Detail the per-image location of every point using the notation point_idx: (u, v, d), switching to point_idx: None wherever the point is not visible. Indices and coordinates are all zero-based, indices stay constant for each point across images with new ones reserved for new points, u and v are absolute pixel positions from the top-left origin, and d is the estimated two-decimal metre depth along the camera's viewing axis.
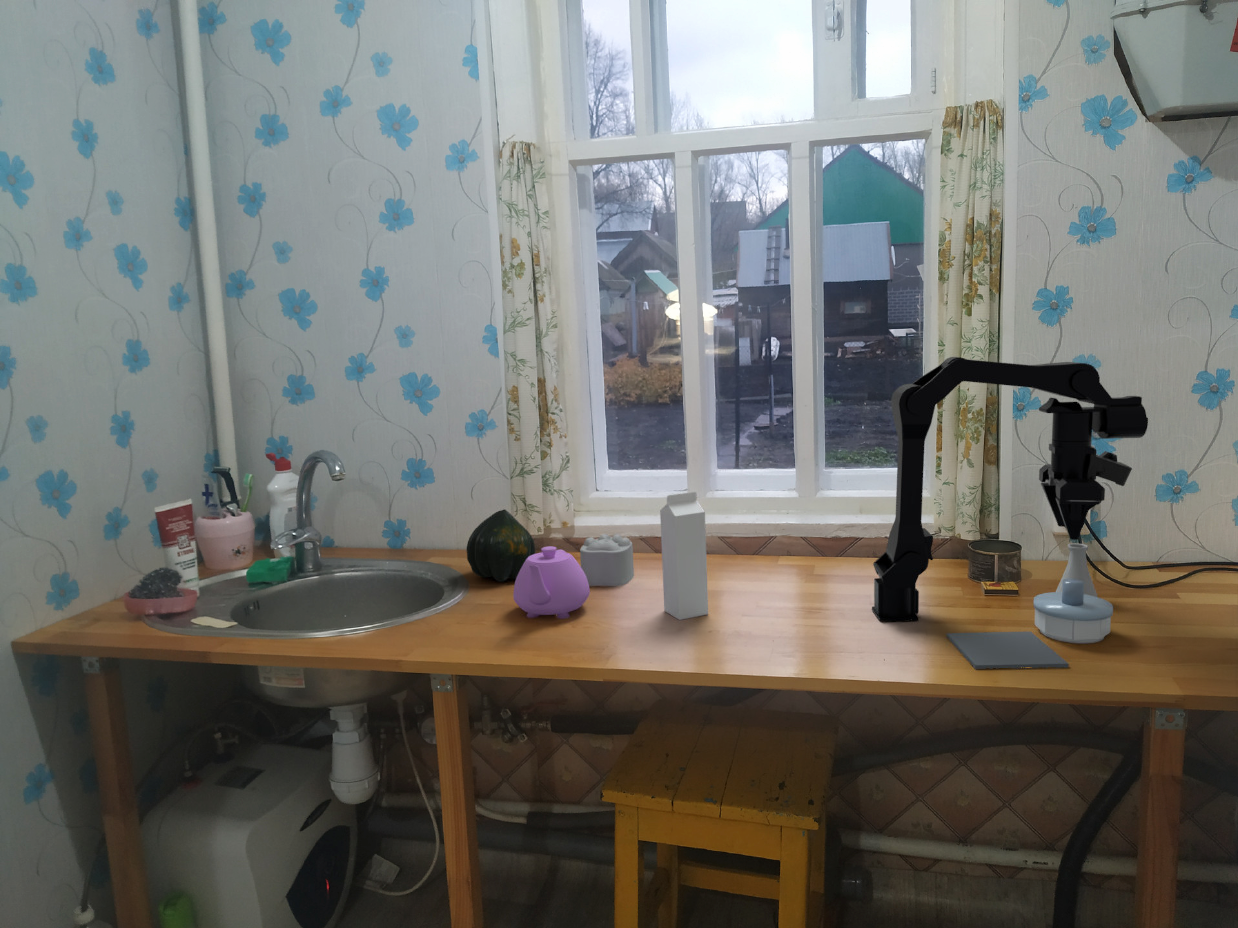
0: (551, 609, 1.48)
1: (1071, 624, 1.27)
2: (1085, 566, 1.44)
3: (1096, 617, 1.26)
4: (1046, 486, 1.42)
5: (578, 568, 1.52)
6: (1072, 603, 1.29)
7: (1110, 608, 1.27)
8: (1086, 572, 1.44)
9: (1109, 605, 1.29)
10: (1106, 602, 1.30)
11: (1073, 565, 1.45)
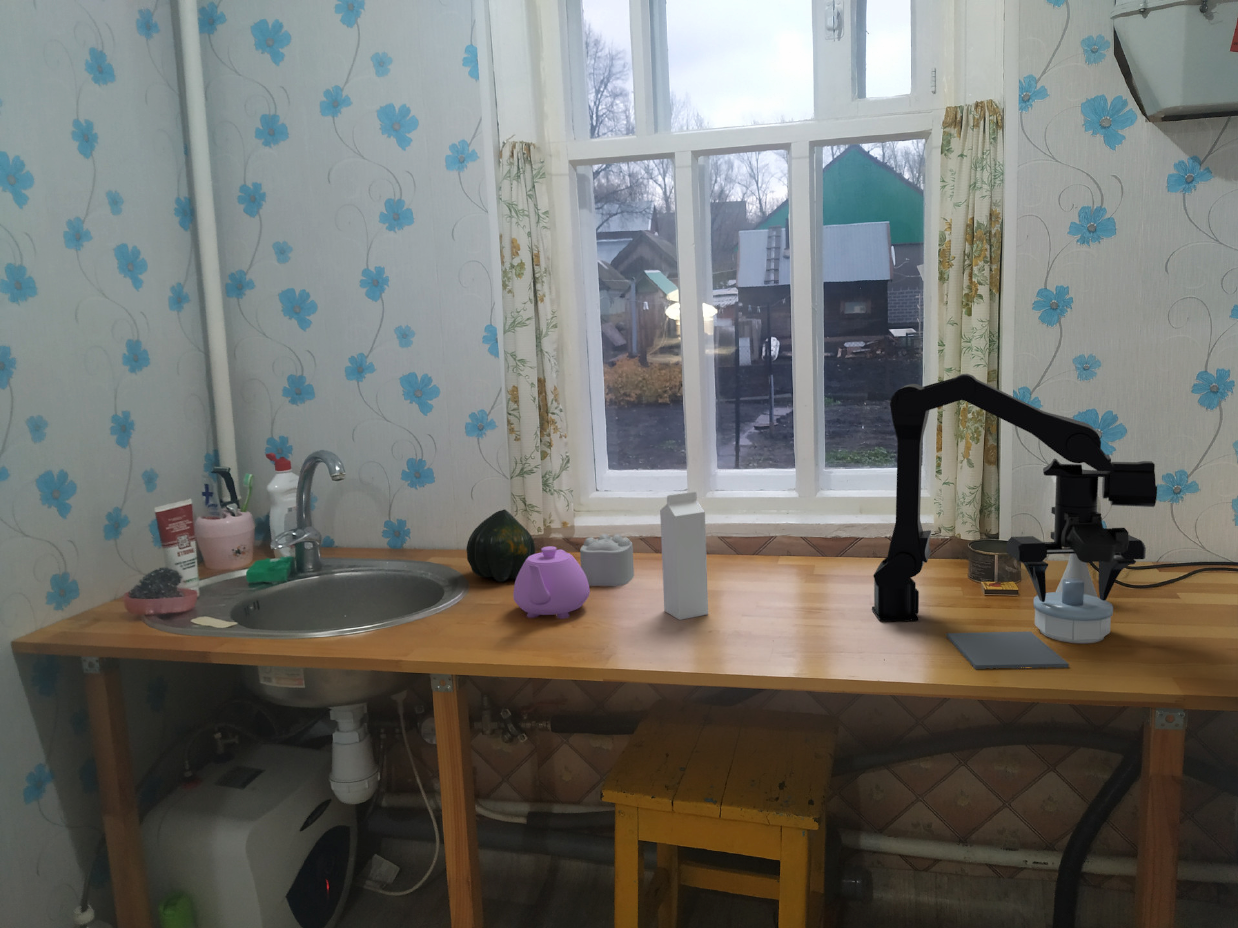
0: (551, 609, 1.48)
1: (1071, 624, 1.27)
2: (1085, 566, 1.44)
3: (1096, 617, 1.26)
4: None
5: (578, 568, 1.52)
6: (1072, 603, 1.29)
7: (1110, 608, 1.27)
8: (1086, 572, 1.44)
9: (1109, 605, 1.29)
10: (1106, 602, 1.30)
11: (1073, 565, 1.45)
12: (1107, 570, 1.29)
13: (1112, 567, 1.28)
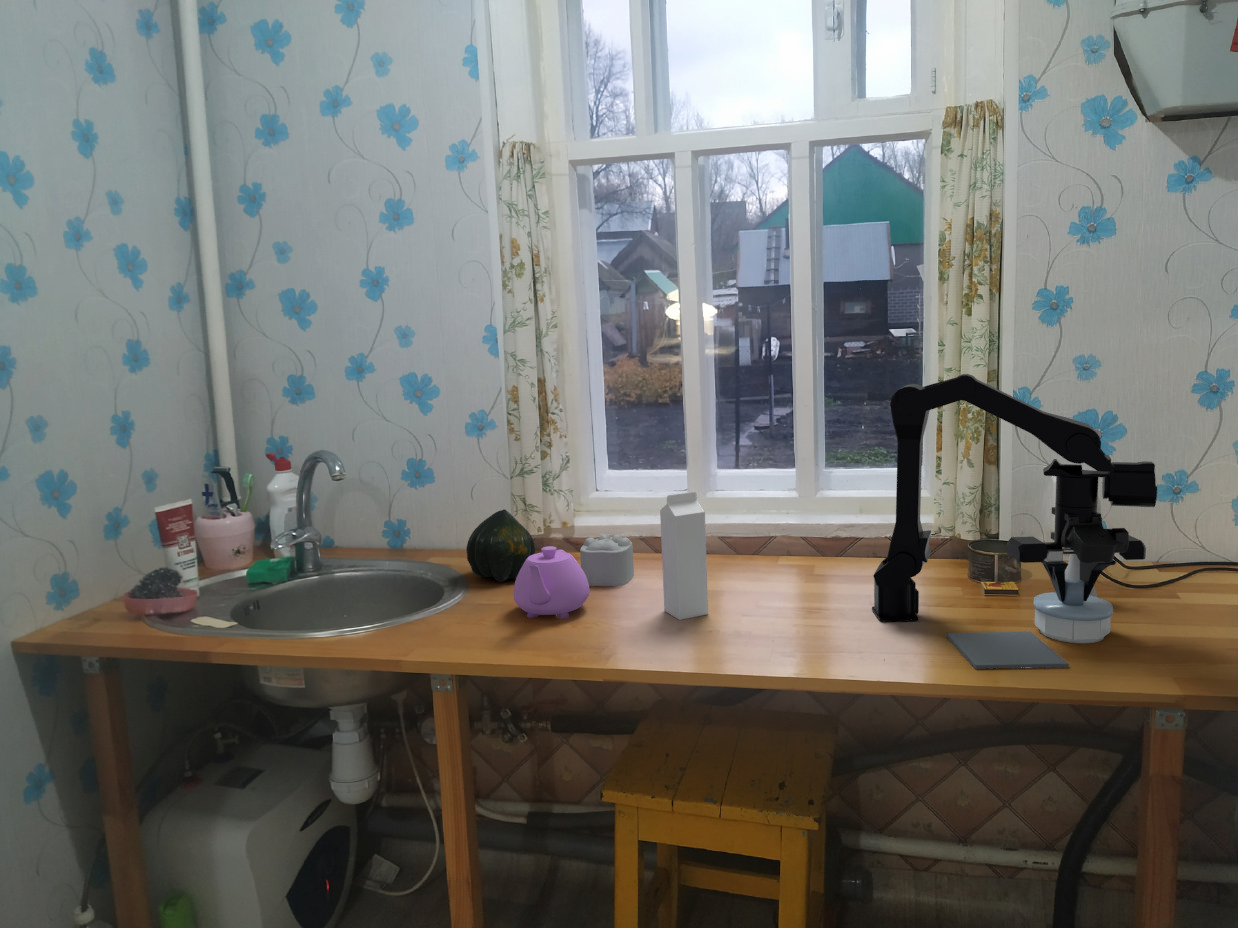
0: (551, 609, 1.48)
1: (1071, 624, 1.27)
2: None
3: (1096, 617, 1.26)
4: None
5: (578, 568, 1.52)
6: (1072, 603, 1.29)
7: (1110, 608, 1.27)
8: None
9: (1109, 605, 1.29)
10: (1106, 602, 1.30)
11: (1073, 565, 1.45)
12: (1088, 571, 1.29)
13: (1093, 568, 1.28)
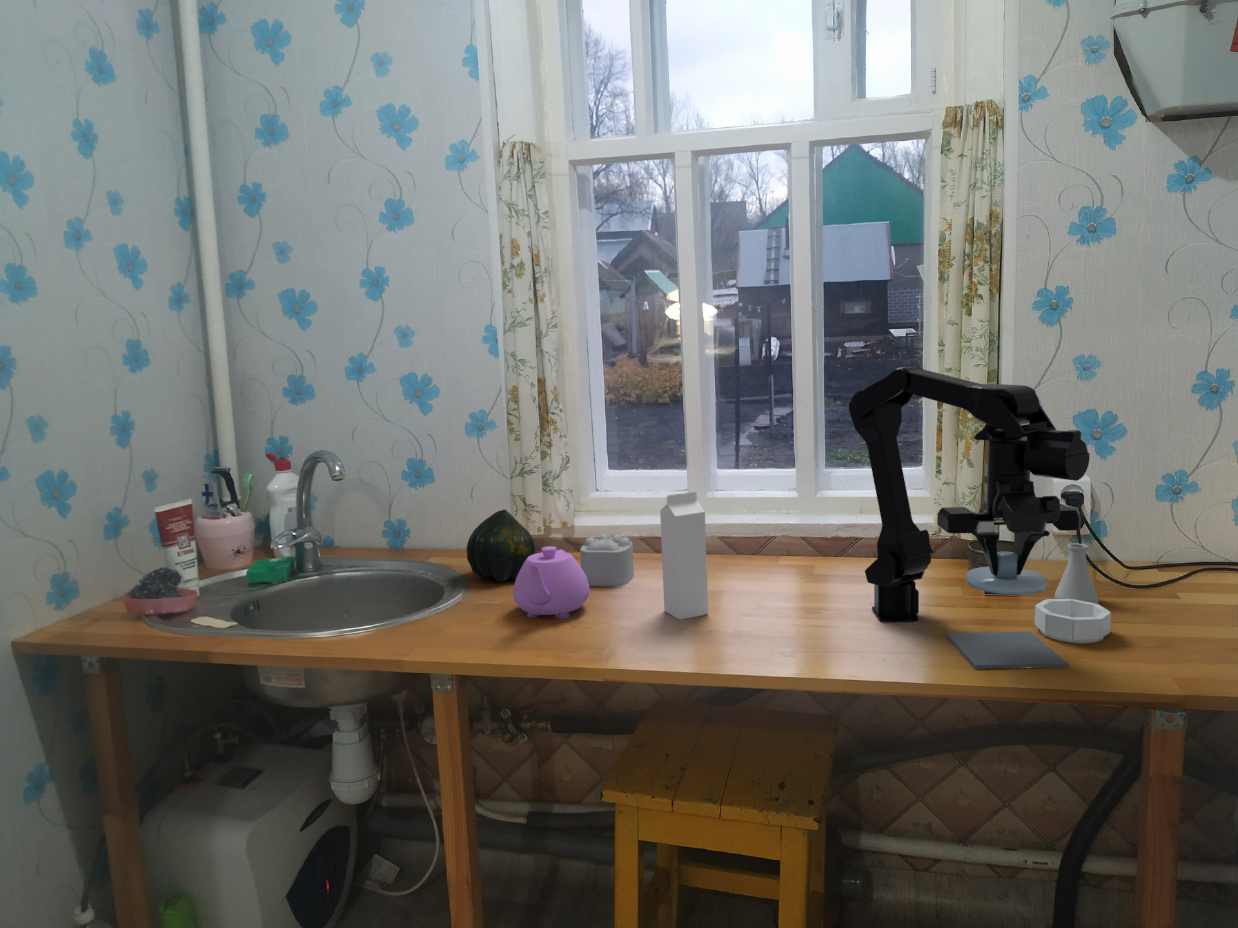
0: (551, 609, 1.48)
1: (1071, 624, 1.27)
2: (1085, 566, 1.44)
3: (1028, 591, 1.19)
4: None
5: (578, 568, 1.52)
6: (1005, 577, 1.23)
7: (1044, 582, 1.21)
8: (1086, 572, 1.44)
9: (1043, 579, 1.22)
10: (1041, 576, 1.23)
11: (1073, 565, 1.45)
12: (1021, 543, 1.23)
13: (1025, 539, 1.21)
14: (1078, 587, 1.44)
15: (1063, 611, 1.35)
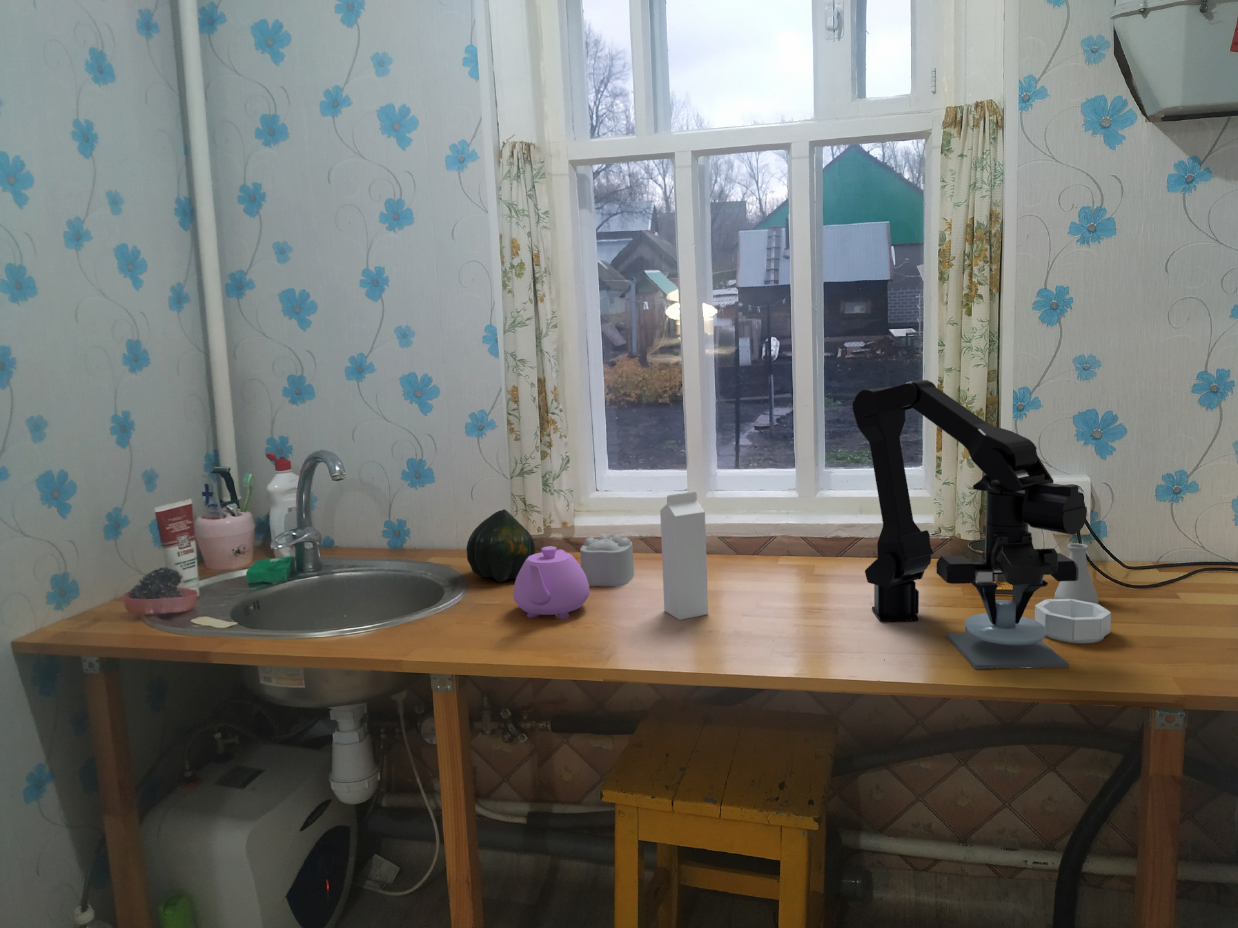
0: (551, 609, 1.48)
1: (1071, 624, 1.27)
2: (1085, 566, 1.44)
3: (1026, 641, 1.20)
4: None
5: (578, 568, 1.52)
6: (1003, 626, 1.24)
7: (1042, 631, 1.22)
8: (1086, 572, 1.44)
9: (1042, 628, 1.23)
10: (1039, 625, 1.24)
11: None
12: (1019, 592, 1.24)
13: (1024, 589, 1.22)
14: (1078, 587, 1.44)
15: (1063, 611, 1.35)
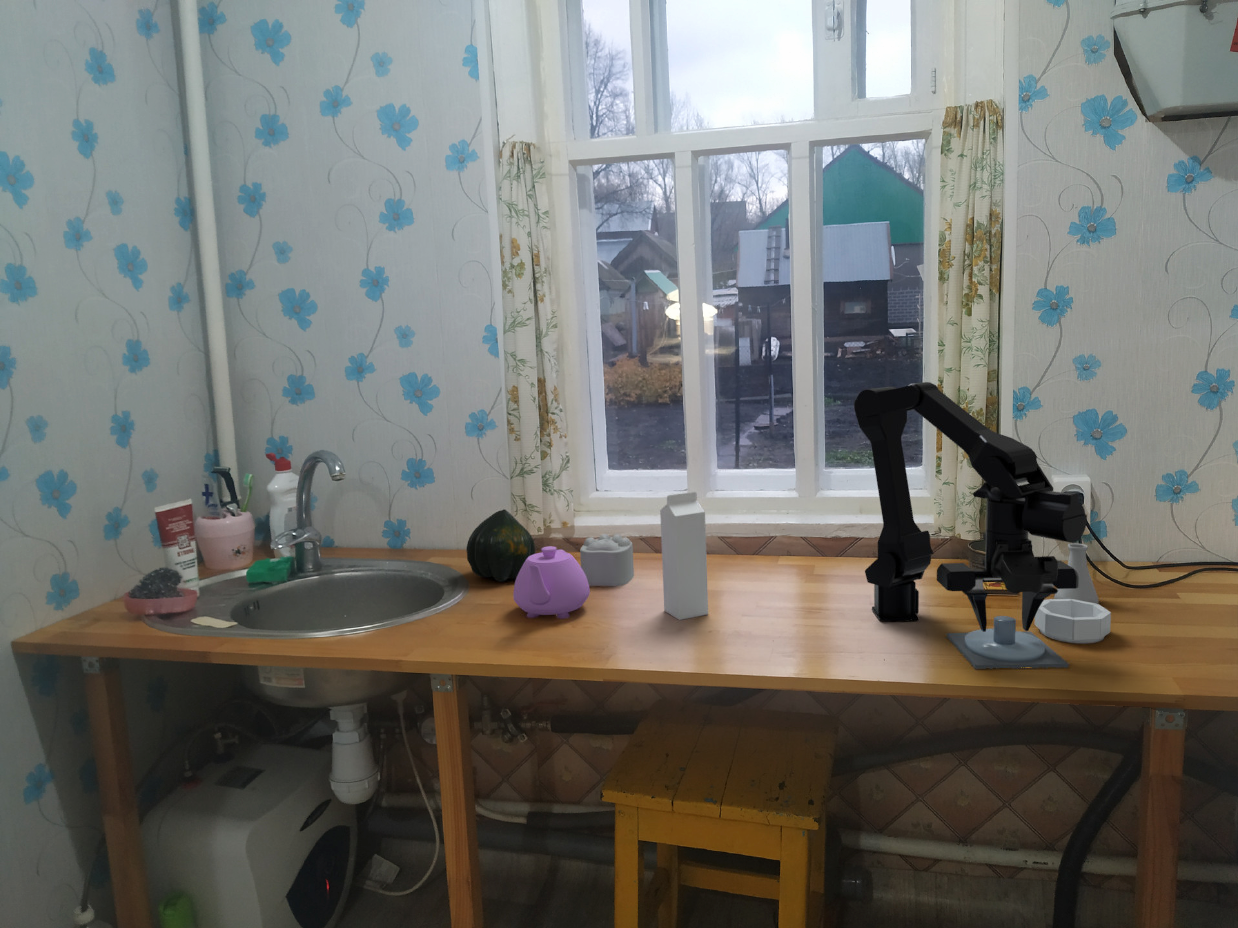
0: (551, 609, 1.48)
1: (1071, 624, 1.27)
2: (1085, 566, 1.44)
3: (1026, 658, 1.20)
4: None
5: (578, 568, 1.52)
6: (1003, 642, 1.24)
7: (1041, 648, 1.22)
8: (1086, 572, 1.44)
9: (1041, 644, 1.23)
10: (1039, 641, 1.25)
11: (1072, 565, 1.45)
12: (1029, 599, 1.24)
13: (1034, 596, 1.22)
14: (1078, 587, 1.44)
15: (1063, 611, 1.35)
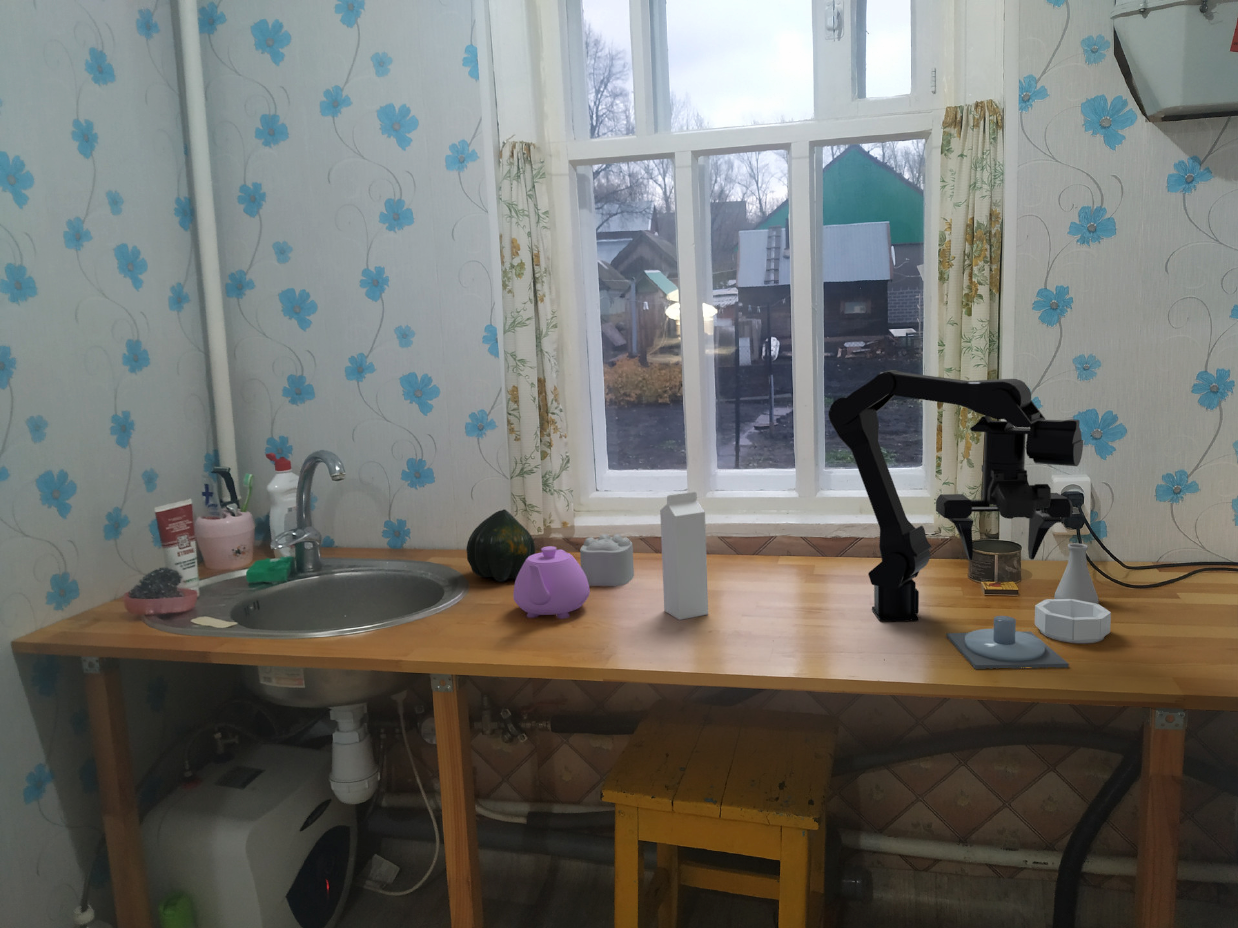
0: (551, 609, 1.48)
1: (1071, 624, 1.27)
2: (1085, 566, 1.44)
3: (1025, 658, 1.20)
4: None
5: (578, 568, 1.52)
6: (1003, 642, 1.24)
7: (1041, 648, 1.22)
8: (1086, 572, 1.44)
9: (1041, 644, 1.23)
10: (1039, 641, 1.25)
11: (1072, 565, 1.45)
12: (1035, 529, 1.28)
13: (1039, 525, 1.27)
14: (1078, 587, 1.44)
15: (1063, 611, 1.35)
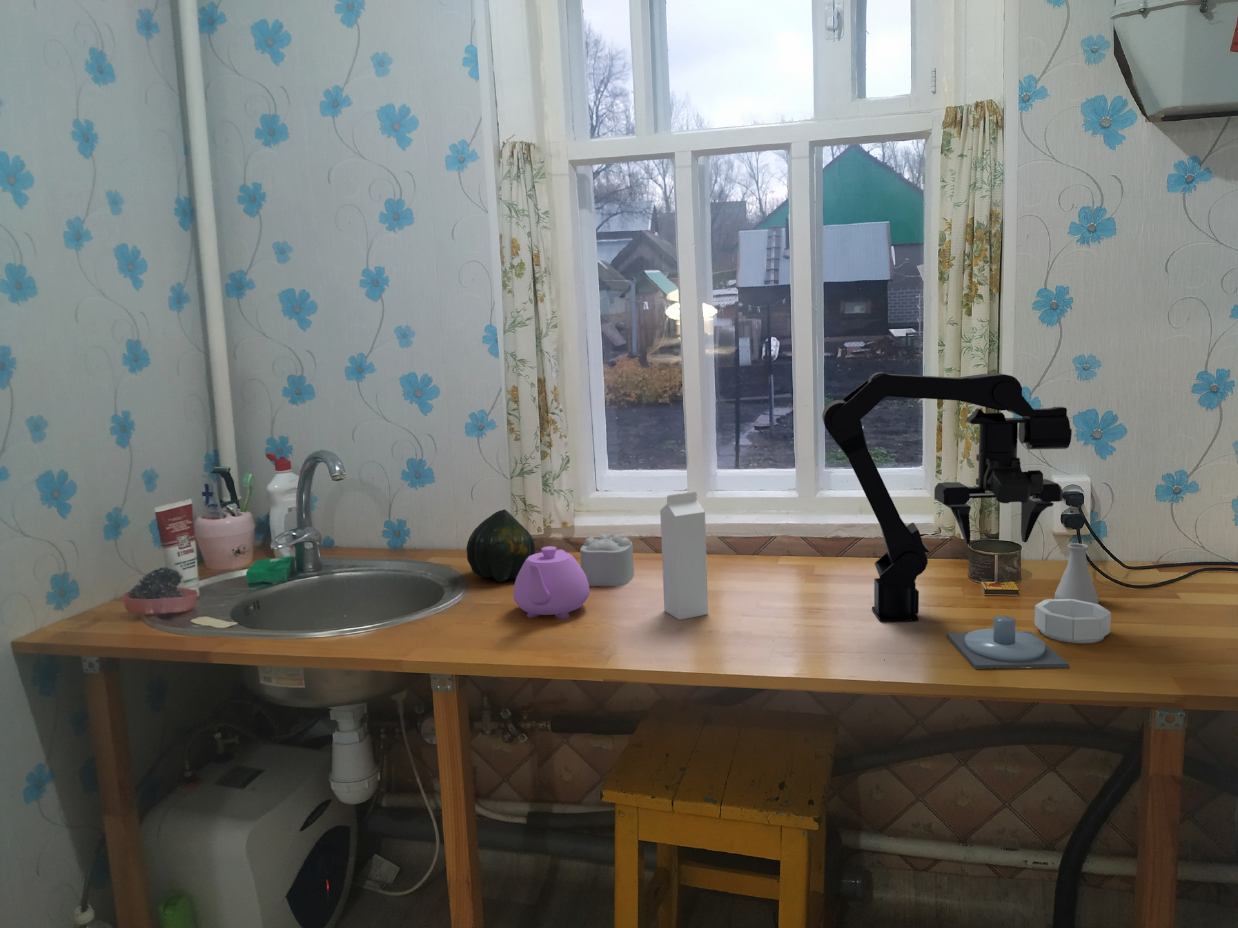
0: (551, 609, 1.48)
1: (1071, 624, 1.27)
2: (1085, 566, 1.44)
3: (1025, 658, 1.20)
4: None
5: (578, 568, 1.52)
6: (1003, 642, 1.24)
7: (1041, 648, 1.22)
8: (1086, 572, 1.44)
9: (1041, 644, 1.23)
10: (1039, 641, 1.25)
11: (1073, 565, 1.45)
12: (1028, 513, 1.37)
13: (1032, 510, 1.35)
14: (1078, 587, 1.44)
15: (1063, 611, 1.35)
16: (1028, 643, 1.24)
